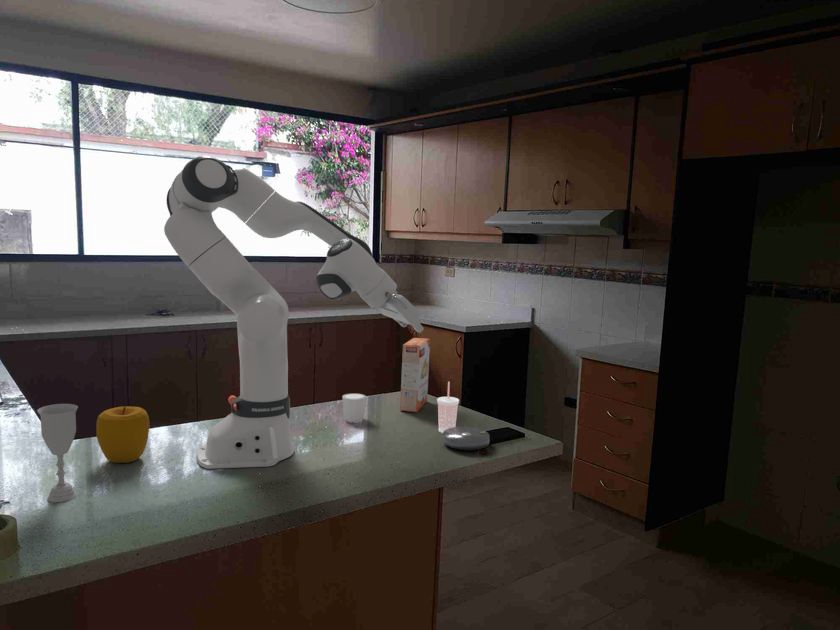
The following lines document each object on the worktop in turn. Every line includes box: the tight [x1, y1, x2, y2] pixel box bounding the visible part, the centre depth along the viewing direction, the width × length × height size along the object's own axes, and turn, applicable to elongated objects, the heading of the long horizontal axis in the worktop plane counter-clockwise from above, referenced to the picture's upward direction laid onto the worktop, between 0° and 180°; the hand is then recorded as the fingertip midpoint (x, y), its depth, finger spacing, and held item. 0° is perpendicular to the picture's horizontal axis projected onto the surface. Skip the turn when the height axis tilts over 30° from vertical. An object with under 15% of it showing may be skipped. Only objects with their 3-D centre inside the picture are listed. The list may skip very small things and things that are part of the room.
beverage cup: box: [436, 381, 460, 434], centre depth 169 cm, size 6×6×14 cm
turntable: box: [442, 426, 490, 452], centre depth 158 cm, size 12×12×3 cm
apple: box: [95, 406, 151, 464], centre depth 140 cm, size 11×11×13 cm
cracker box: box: [399, 337, 431, 413], centre depth 191 cm, size 14×6×21 cm, turn 167°
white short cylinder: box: [341, 392, 367, 423], centre depth 177 cm, size 7×7×7 cm
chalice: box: [37, 403, 79, 503], centre depth 120 cm, size 7×7×18 cm
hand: (413, 327), depth 161 cm, fingers open, 8 cm apart
